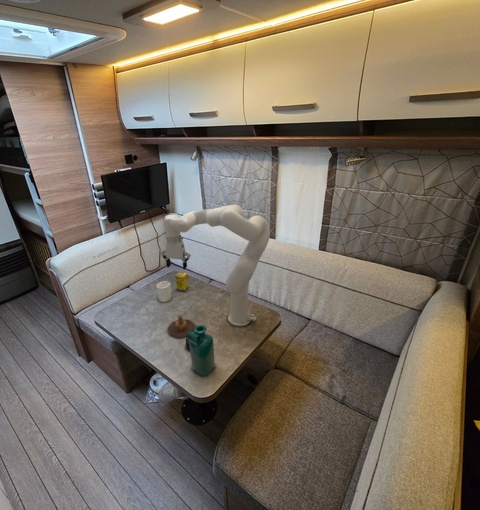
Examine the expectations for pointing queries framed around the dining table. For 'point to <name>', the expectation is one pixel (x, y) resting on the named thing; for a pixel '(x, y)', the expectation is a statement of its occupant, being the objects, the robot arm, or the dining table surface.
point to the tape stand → (181, 327)
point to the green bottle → (201, 350)
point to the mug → (164, 291)
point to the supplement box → (182, 281)
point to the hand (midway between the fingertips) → (176, 267)
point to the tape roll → (187, 344)
